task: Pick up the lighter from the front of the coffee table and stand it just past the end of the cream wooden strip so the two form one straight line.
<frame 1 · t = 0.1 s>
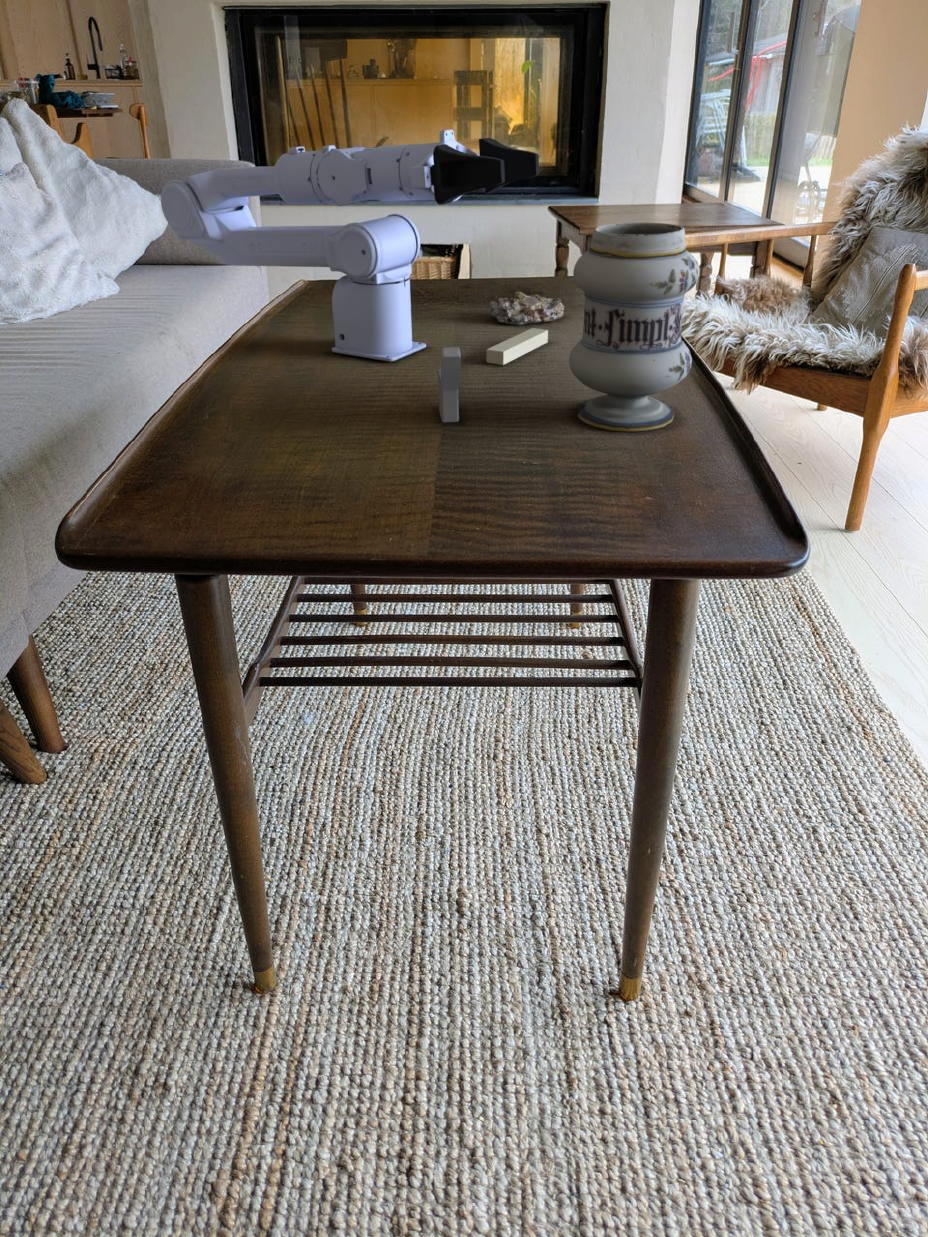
hand: (520, 167, 95), 22 cm above the table, tool horizontal, fingers open, 7 cm apart
apothecary jar: (624, 417, 93), on the table
strip: (518, 352, 114), on the table
lighter: (450, 421, 92), on the table
mineral rock: (527, 320, 129), on the table
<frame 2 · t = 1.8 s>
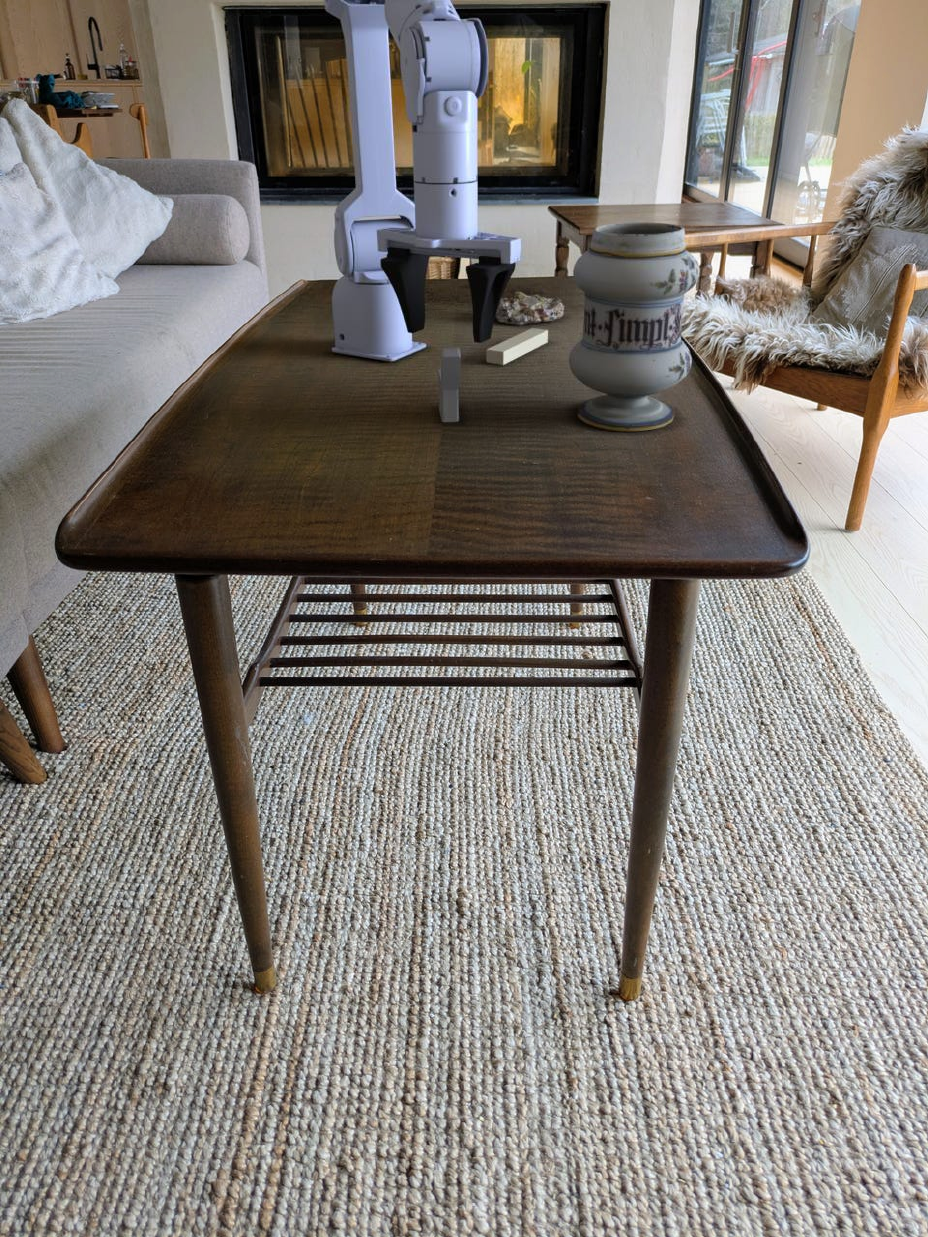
hand: (448, 335, 88), 9 cm above the table, tool pointing down, fingers open, 7 cm apart
nothing on the table moved.
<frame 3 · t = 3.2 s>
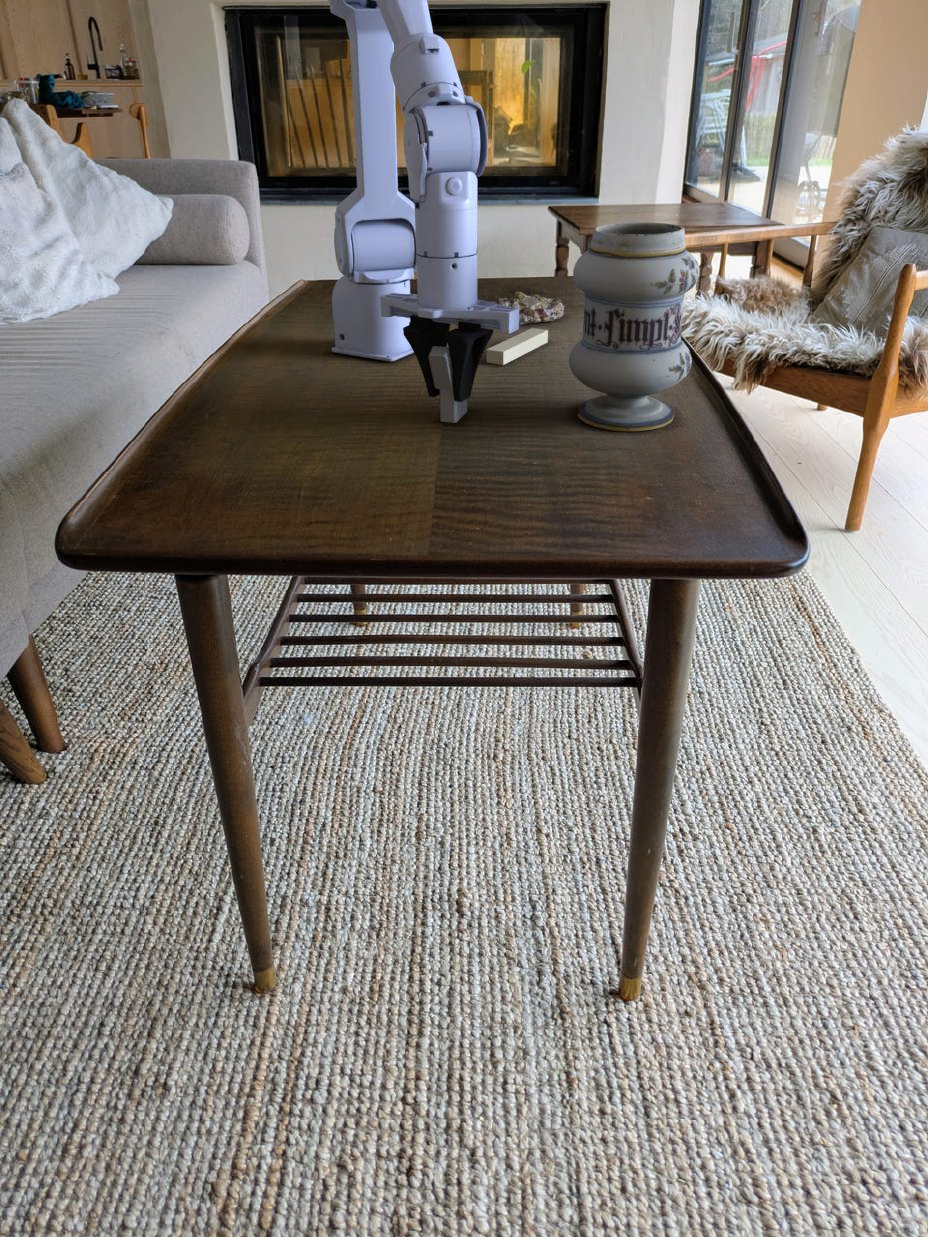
hand: (449, 396, 91), 2 cm above the table, tool pointing down, fingers closed on lighter, 2 cm apart
lighter: (449, 422, 92), on the table, touching gripper
everything else where it was.
when the fingers open (3 cm above the table, at t = 7.2 s): lighter stays where it is, on the table.
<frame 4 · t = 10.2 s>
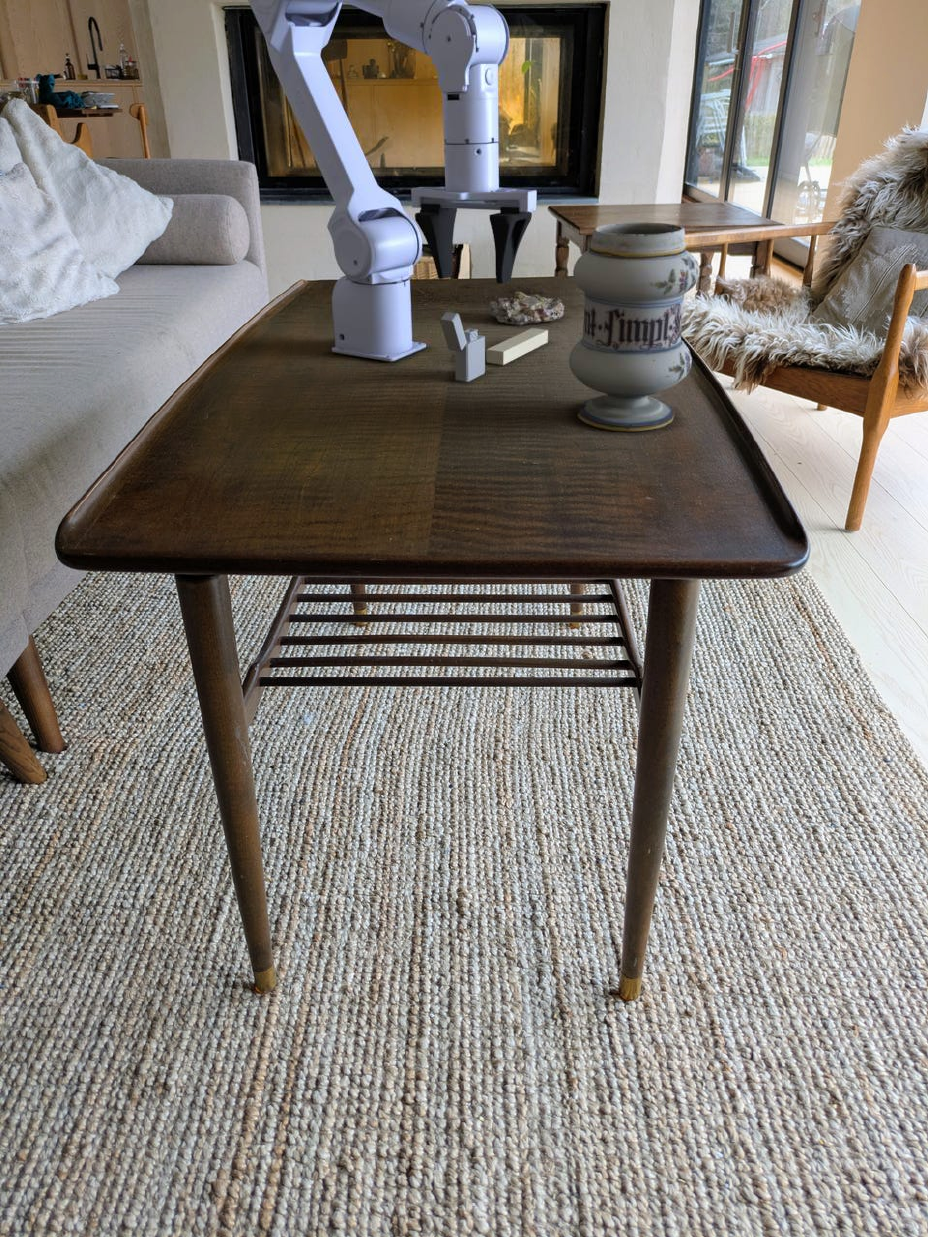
hand: (474, 279, 101), 10 cm above the table, tool pointing down, fingers open, 7 cm apart
lighter: (463, 381, 104), on the table
everything else where it was.
at the end: lighter 0.3 cm from the target spot on the table beside the strip, on the table; lighter tilted 0°; the gripper is holding nothing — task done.
